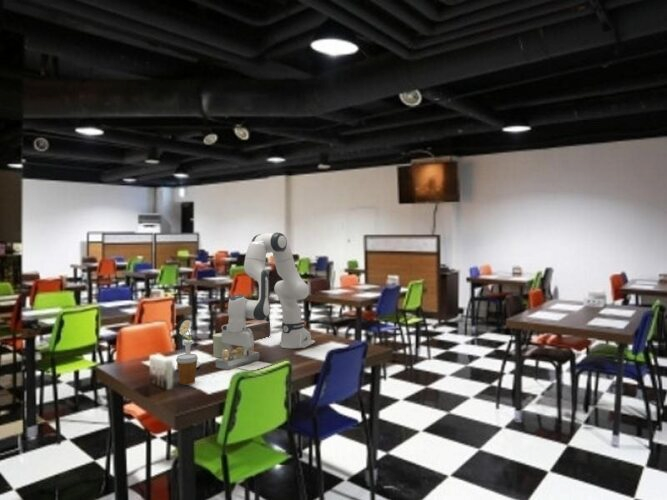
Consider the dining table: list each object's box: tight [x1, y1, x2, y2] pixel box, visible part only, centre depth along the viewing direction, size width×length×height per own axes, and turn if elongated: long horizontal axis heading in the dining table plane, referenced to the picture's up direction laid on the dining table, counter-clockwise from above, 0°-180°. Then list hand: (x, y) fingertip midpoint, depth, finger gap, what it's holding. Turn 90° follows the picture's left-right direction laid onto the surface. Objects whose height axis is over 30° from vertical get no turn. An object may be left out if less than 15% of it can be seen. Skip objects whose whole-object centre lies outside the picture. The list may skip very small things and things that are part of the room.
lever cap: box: [230, 346, 245, 358], centre depth 240 cm, size 8×5×4 cm, turn 146°
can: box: [212, 332, 229, 358], centre depth 257 cm, size 9×9×12 cm
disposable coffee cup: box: [175, 353, 199, 386], centre depth 210 cm, size 10×10×12 cm
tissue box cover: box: [246, 319, 271, 342], centre depth 296 cm, size 26×14×10 cm, turn 141°
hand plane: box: [215, 344, 260, 371], centre depth 240 cm, size 22×9×10 cm, turn 146°
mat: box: [237, 360, 273, 372], centre depth 233 cm, size 14×10×1 cm
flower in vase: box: [176, 319, 201, 369], centre depth 231 cm, size 13×11×25 cm
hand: (237, 353), depth 240 cm, fingers open, 8 cm apart
